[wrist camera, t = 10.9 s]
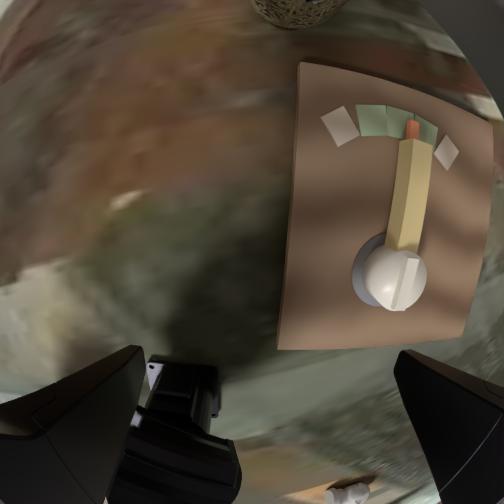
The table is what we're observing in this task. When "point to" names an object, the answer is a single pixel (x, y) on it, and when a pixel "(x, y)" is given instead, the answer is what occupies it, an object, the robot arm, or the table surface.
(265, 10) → the cup
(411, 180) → the tuner pointer lever
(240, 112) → the table surface
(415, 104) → the tuner board
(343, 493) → the pale two-lobed sculpture
